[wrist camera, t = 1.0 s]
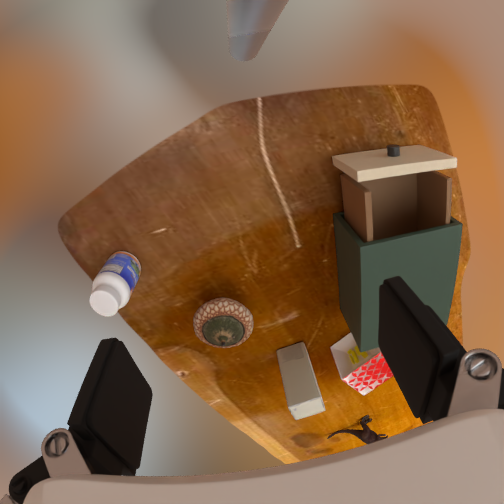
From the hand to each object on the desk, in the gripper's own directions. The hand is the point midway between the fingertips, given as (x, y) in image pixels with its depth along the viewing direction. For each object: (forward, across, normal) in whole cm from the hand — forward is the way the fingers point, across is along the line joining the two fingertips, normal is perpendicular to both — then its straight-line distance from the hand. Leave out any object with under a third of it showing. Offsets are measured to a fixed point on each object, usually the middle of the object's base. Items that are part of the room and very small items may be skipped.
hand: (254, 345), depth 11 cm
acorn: (+32, +6, +19) cm, 38 cm away
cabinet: (+32, -19, +17) cm, 41 cm away
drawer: (+31, -19, +8) cm, 37 cm away
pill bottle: (+32, +19, +10) cm, 39 cm away
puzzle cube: (+33, -14, +35) cm, 50 cm away
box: (+33, -2, +33) cm, 47 cm away
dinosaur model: (+34, -14, +65) cm, 74 cm away
